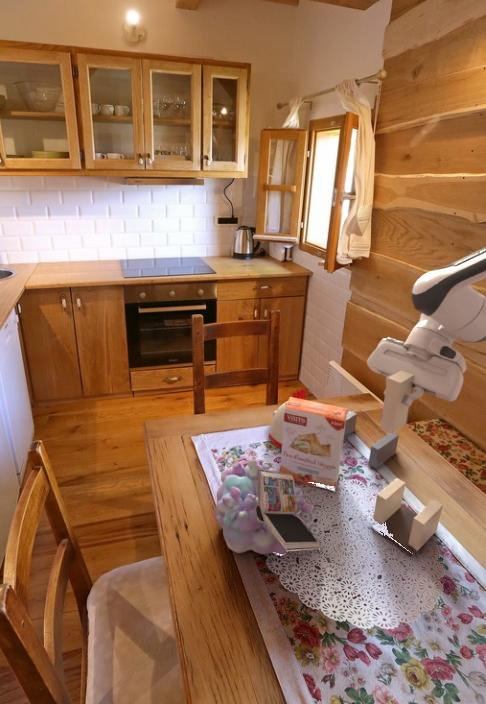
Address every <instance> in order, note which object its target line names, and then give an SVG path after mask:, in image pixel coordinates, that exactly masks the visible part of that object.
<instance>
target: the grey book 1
mask: <svg viewBox="0 0 486 704" xmlns="http://www.w3.org/2000/svg"><path fill="white" fill-rule="evenodd" d="M357 421H358V413H356V411H353V410H351V411H349V412H347V417H346V424H345V432H344V438H346V437H347V436H349V435H350V434H353V433H354V432H356V426H357Z"/></svg>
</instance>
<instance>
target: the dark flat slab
mask: <svg viewBox="0 0 486 704" xmlns="http://www.w3.org/2000/svg"><path fill="white" fill-rule="evenodd" d="M417 515H418V513H416V512H414V511H412V510H411V509H410V508H408V507H406V506H405V505H403V503H401V507H400V508H399V509H398V510H397V511H396V512H395V513H394V514H393V515H391V516H390V517H389V518H388V519H387V520H386V521H385V522H386V526H387V530H388V533H389V534H390V533H391V534H393V537H392V536H391V537H392V538H393V539H394V540H396V541H397V542H398V543H400V544H401V545H402V546H403V547H405V548H406V549H407V550H409V551H410V552H411V553H410V552H409V551H407V550H406V549H405V548H403V547H402V546H400V545H399V544H398V543H396V542H395V541H394V540H392V539H391V538H389V537H388V536H387V535H385V536H384V533H383V532H381V531H380V532H381V533H383V536H382V537H383V539H385V540H387V541H388V542H389V543H391V544H392V545H394V546H395V547H396V548H398V549H399V550H400V551H402V552H403V553H404V554H406V555H407V556H409V558H412V557H414V556H415V554H416V553H417V552H418V551H417V550H416V549H414V548H413V547H411V546H410V545H409V544H408V543H409V539H410V534H411V530H412V525H413V520H414V518H415V517H416V516H417ZM385 522H384V524H385ZM384 526H385V525H384ZM412 553H413V554H412Z"/></svg>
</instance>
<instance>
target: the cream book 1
mask: <svg viewBox="0 0 486 704" xmlns="http://www.w3.org/2000/svg"><path fill="white" fill-rule="evenodd" d="M405 488H406V482H405V481H403V480H401V479H400V478H398V477H396V478H395V479H393V481H391V482H390V483H389V484H388V485H387V486H386V487H384V488H383V489H382V490H380V491H379V492H378V493H377V494H376V500H375V505H374V511H373V515H372V516H373V517H372V520H373V519H374V520H373V521H377V522H378V523H379V524H381V525H382V524H383V523H384V522H385V521H386V520H387V519H388V518H389V517H390V516H391V515H393V514H394V513H395V512H396V511H397V510H398V509H399V508H400V507H401V504H402V502H403V497H404V492H405Z"/></svg>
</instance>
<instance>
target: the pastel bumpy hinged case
mask: <svg viewBox="0 0 486 704" xmlns="http://www.w3.org/2000/svg"><path fill="white" fill-rule="evenodd" d="M263 462H264V461H263V460H262V459H256V456H255V455H251V456H249V457H248V459H247V460H246V465H245V466H244V465H243V464H242V463H241V462H240V461H237V462H235V463H234V464H233V467H227V468H225V469H224V470H223V471H222V472H221V475H220V482H221V484H220V485H219V487H218V488H217V491H216V505H215V507H214V518H215V521H216V523H217V525H218V526H219V528H220V529H221V530H222V534H223V535H222V536H223V539H224V541H225V543H226V546H227V548H228V549H229V550H231V551H232V552H234V553H236V554H242V553H246V552H248V551H253V552H255V553H256V554H259V555H269V554H272V553H271V552H276V553H279V554H285V553H287V552H288V553H294V552H307V551H319V549H320V550H321V547H320V546H319V541H318V539H317V538H316V537H315V536H314V534H313V533H312V532H311V530H310V529H309V528H308V527H307V525H306V524H305V520H304V519H303V518H302V517H301V516H300V515H299V513H300V512H302V513H303V514H304V515H306V516H309V515H310V514H311V513H312V511H313V505H312V504H311V503H309V502H307V501H306V500H305V498H304V497H305V495H304V493H303V491H302V489H301V487H300V486H297V487H296V486H295V481H294V479H293V477H292V475H289V474H284V473H280V471H277V470H276V469H275V468H273V467H270V466H269V465H268V464H266V463H263ZM268 553H269V554H268ZM288 553H287V554H288Z"/></svg>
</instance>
